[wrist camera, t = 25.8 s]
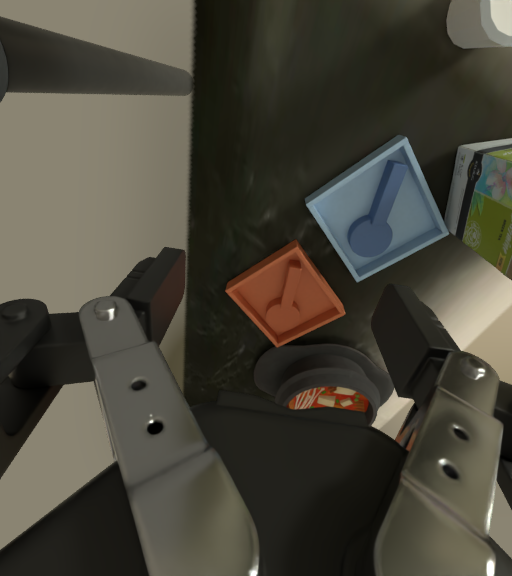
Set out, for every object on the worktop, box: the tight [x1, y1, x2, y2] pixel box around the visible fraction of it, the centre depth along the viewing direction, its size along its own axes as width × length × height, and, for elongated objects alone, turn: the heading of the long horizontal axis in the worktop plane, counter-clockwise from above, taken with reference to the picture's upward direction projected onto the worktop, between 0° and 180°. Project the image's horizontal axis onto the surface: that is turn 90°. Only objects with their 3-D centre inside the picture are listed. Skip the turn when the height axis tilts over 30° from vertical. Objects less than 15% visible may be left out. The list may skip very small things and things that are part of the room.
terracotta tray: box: [225, 239, 345, 347], centre depth 45 cm, size 13×12×2 cm
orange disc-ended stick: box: [266, 260, 301, 331], centre depth 44 cm, size 12×5×2 cm, turn 172°
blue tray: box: [305, 135, 449, 282], centre depth 37 cm, size 13×12×2 cm
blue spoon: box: [347, 160, 408, 257], centre depth 36 cm, size 12×5×2 cm, turn 172°
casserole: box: [254, 344, 394, 426], centre depth 51 cm, size 25×19×8 cm
